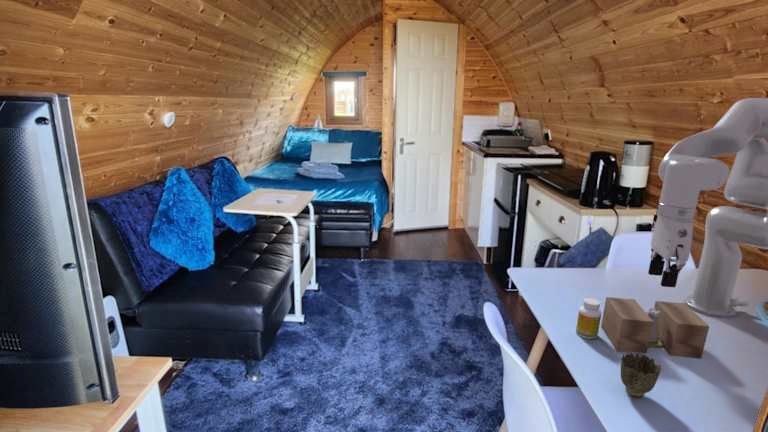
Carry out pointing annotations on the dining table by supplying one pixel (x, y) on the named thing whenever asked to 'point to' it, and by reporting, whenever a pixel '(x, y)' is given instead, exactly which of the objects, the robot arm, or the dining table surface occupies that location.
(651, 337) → the rook chess piece
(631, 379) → the cup
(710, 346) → the dining table surface
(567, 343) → the dining table surface
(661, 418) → the dining table surface
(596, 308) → the supplement bottle
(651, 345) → the gold metallic block
